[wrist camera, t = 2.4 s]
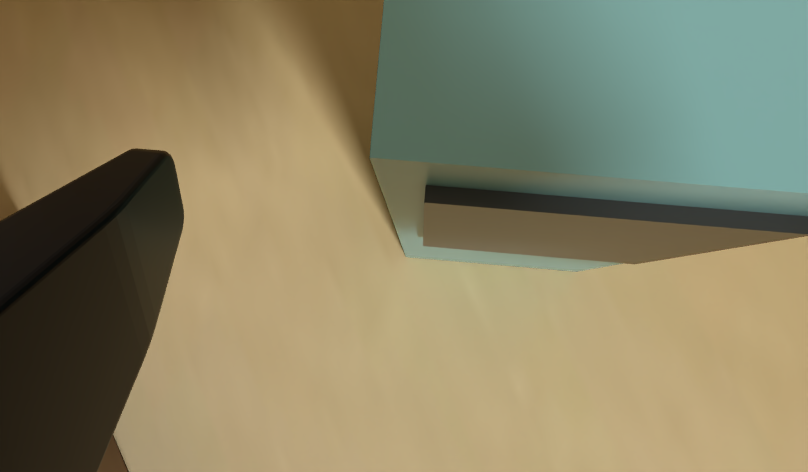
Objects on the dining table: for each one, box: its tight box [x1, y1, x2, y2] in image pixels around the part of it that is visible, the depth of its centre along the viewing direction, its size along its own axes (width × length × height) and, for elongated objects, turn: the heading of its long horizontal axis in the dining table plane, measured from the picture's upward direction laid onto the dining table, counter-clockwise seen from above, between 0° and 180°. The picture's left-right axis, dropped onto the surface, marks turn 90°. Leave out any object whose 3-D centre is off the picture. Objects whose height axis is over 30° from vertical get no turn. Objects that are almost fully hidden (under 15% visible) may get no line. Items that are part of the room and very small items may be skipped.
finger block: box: [370, 0, 808, 272], centre depth 11 cm, size 4×4×12 cm
